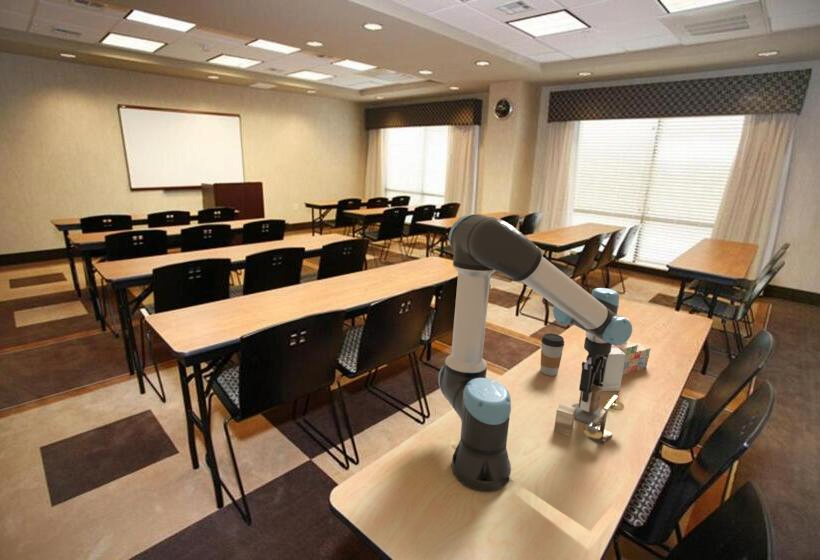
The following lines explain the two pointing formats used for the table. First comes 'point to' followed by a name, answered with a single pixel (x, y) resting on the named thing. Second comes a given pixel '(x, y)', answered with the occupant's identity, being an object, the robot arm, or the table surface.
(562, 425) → the maple block
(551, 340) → the coffee cup
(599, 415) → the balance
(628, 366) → the stack of blocks
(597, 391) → the walnut block
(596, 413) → the plate
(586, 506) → the table surface
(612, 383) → the skincare box
